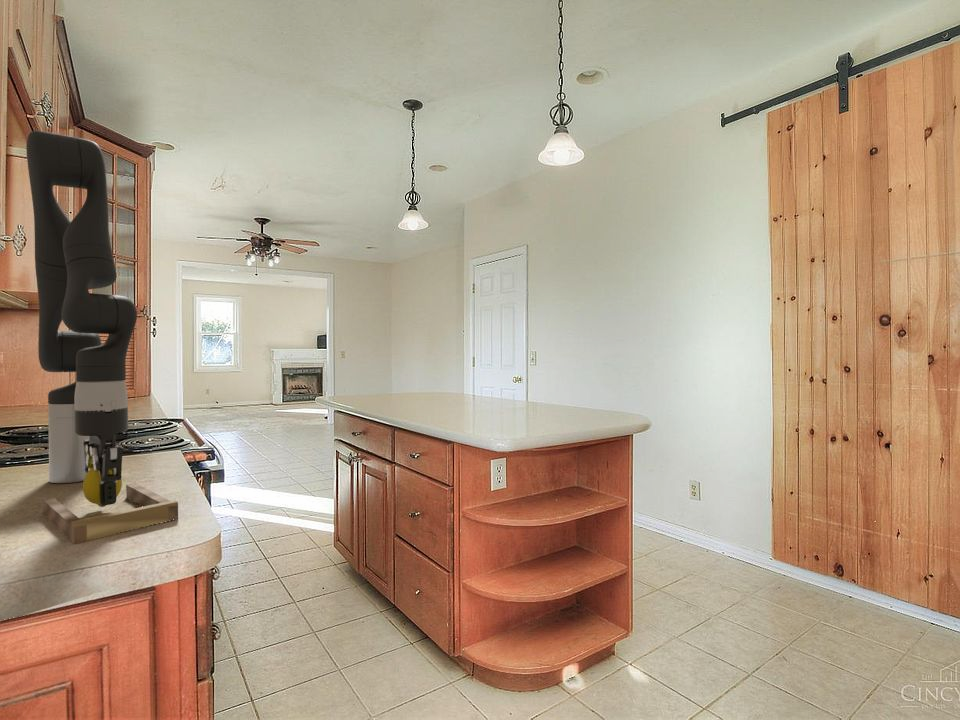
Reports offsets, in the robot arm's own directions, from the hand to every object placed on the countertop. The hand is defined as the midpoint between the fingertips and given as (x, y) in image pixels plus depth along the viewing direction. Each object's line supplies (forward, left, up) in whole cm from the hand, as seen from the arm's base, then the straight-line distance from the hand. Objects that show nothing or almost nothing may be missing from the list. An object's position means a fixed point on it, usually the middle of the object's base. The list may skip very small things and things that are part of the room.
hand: (103, 500), depth 88 cm
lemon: (0, 0, -1) cm, 1 cm away
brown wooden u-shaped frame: (+4, 0, -2) cm, 4 cm away
